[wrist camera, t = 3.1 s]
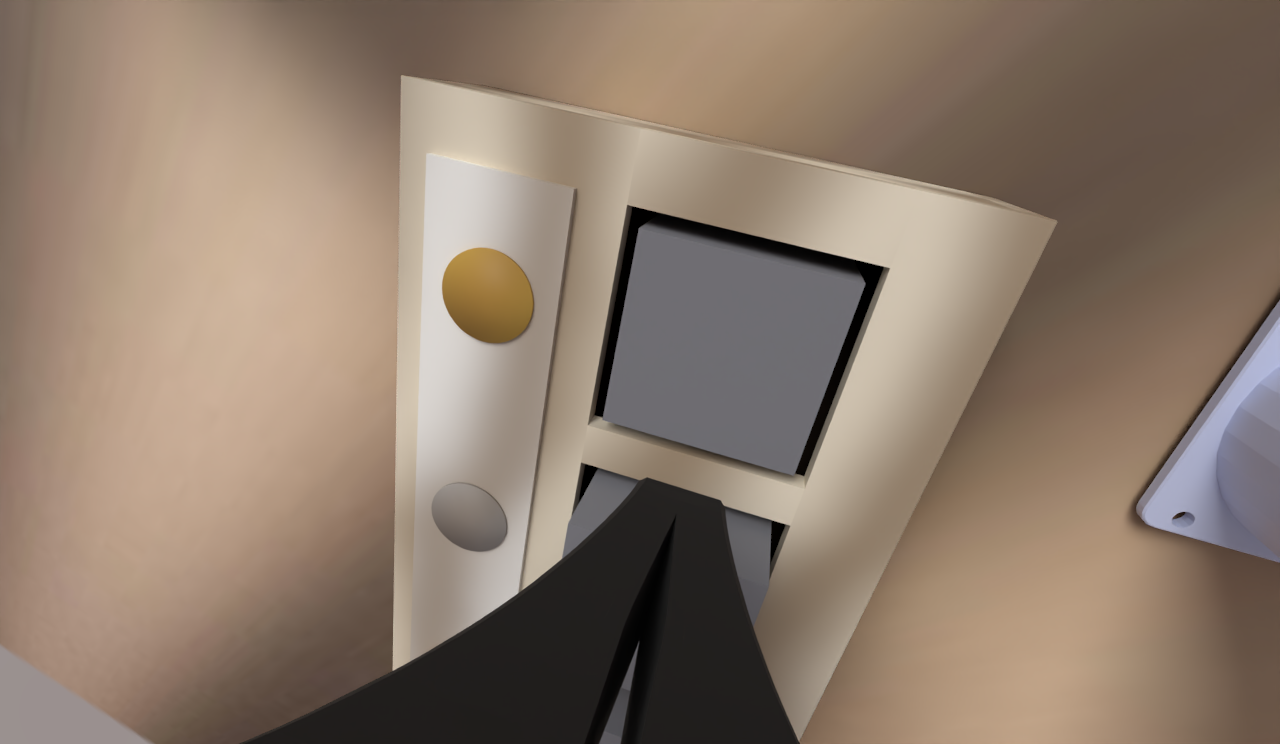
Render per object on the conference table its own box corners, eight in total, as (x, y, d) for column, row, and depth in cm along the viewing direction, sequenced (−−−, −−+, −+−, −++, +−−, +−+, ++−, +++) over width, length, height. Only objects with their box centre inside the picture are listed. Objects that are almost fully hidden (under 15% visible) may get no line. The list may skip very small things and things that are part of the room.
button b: (772, 500, 17) (769, 586, 14) (728, 621, 19) (716, 721, 16) (607, 450, 17) (568, 523, 14) (583, 574, 20) (543, 660, 16)
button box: (992, 197, 15) (1064, 223, 11) (748, 749, 25) (741, 865, 21) (484, 85, 17) (392, 74, 13) (445, 641, 26) (387, 730, 23)
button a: (849, 251, 15) (865, 284, 12) (792, 412, 18) (794, 475, 14) (667, 207, 16) (638, 228, 13) (634, 369, 18) (602, 420, 15)
